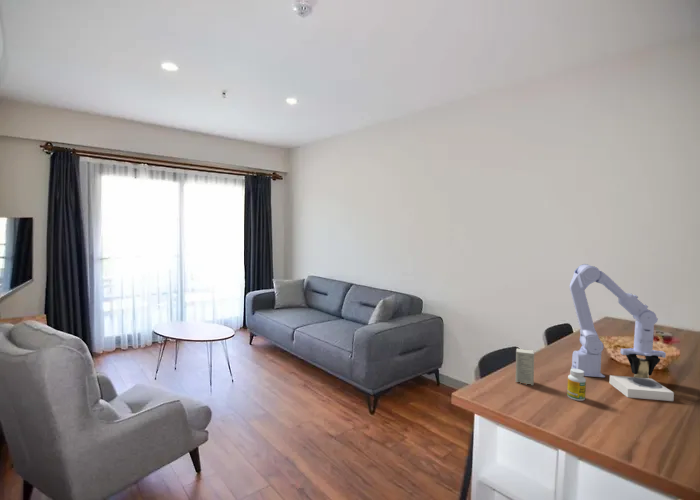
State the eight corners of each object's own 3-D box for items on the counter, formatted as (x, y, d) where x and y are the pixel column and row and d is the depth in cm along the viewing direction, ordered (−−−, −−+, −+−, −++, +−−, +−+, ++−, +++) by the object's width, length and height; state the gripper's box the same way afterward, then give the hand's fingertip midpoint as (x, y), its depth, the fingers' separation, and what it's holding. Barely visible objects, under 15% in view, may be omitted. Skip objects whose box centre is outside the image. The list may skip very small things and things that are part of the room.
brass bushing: (638, 381, 140) (639, 361, 139) (631, 377, 144) (632, 357, 144) (651, 382, 139) (652, 362, 139) (643, 378, 143) (645, 358, 143)
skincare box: (533, 381, 139) (534, 350, 138) (533, 386, 135) (535, 353, 134) (515, 378, 141) (516, 347, 141) (514, 382, 137) (516, 351, 137)
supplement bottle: (571, 392, 129) (572, 366, 129) (588, 398, 125) (589, 371, 124) (563, 396, 126) (565, 369, 126) (580, 402, 122) (581, 374, 121)
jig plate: (627, 397, 126) (628, 388, 126) (609, 383, 138) (609, 375, 138) (673, 401, 124) (673, 392, 124) (650, 386, 136) (651, 378, 136)
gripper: (628, 341, 138) (626, 376, 139) (672, 343, 136) (669, 379, 136) (618, 335, 145) (616, 369, 146) (659, 338, 142) (657, 372, 143)
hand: (641, 373), depth 141 cm, fingers closed on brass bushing, 4 cm apart
